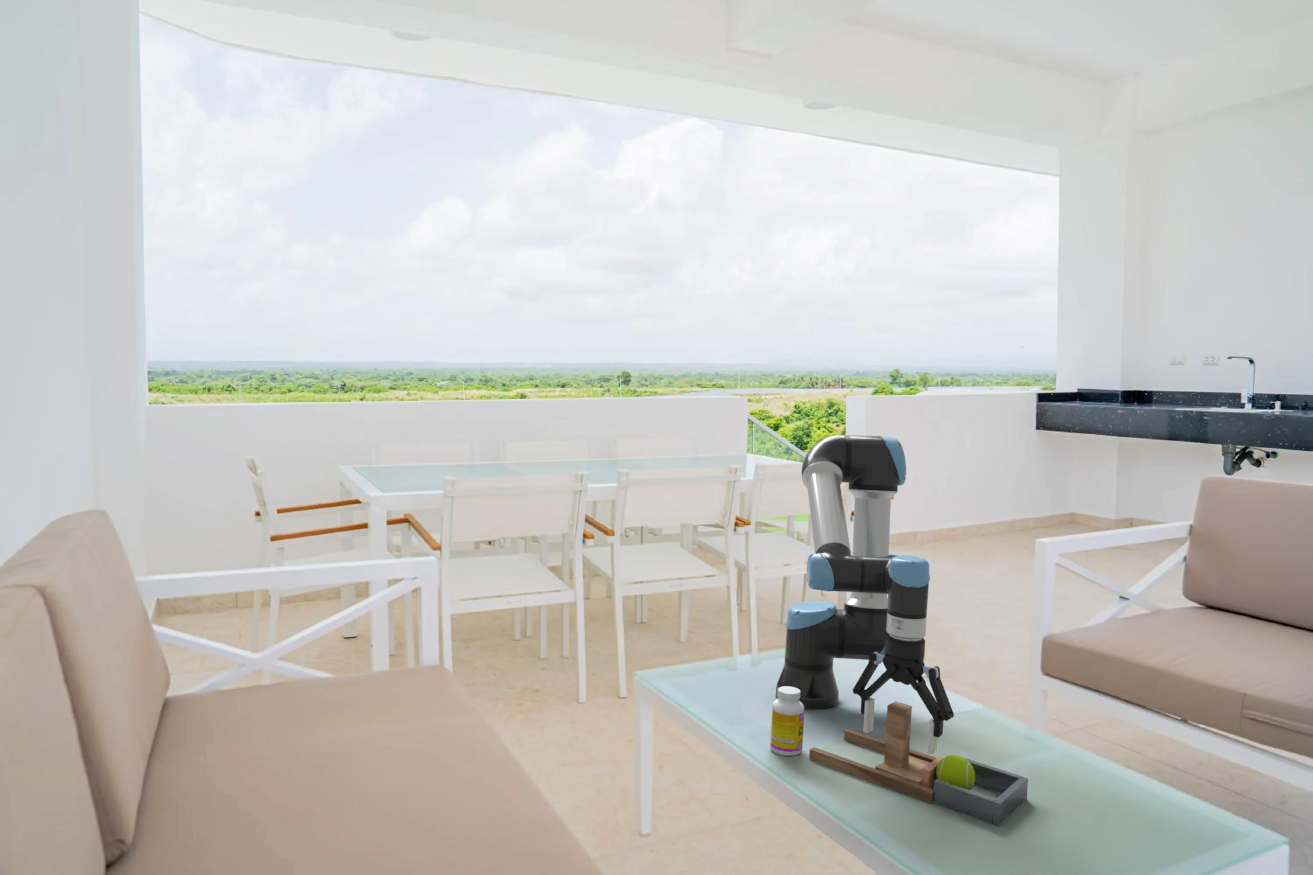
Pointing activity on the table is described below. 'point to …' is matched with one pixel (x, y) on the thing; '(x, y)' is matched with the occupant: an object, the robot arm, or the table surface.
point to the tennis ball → (956, 771)
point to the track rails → (872, 773)
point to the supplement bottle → (787, 722)
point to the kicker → (904, 749)
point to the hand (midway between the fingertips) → (899, 741)
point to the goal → (979, 804)
